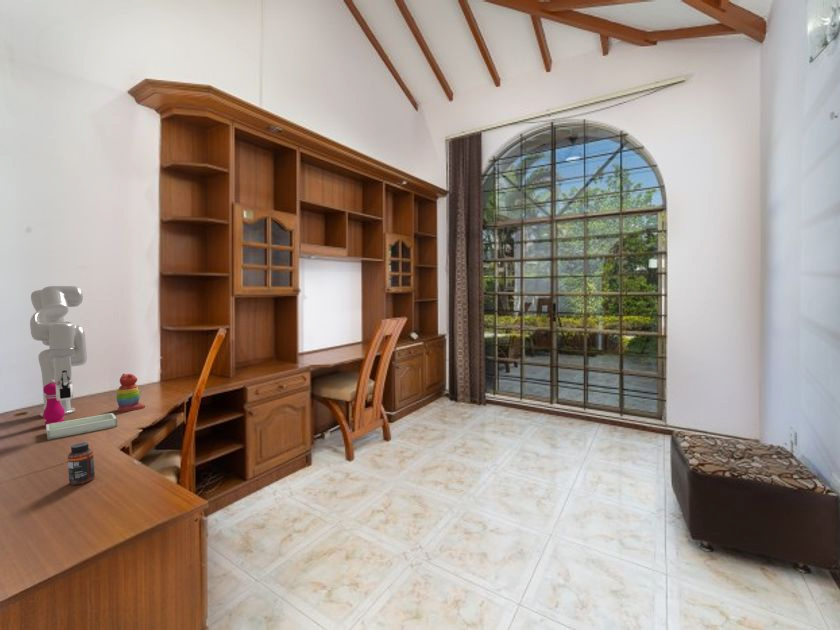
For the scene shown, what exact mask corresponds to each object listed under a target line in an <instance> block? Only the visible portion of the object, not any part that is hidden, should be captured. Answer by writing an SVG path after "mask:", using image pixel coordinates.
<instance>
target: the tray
mask: <svg viewBox="0 0 840 630" xmlns="http://www.w3.org/2000/svg"><path fill="white" fill-rule="evenodd" d="M117 427H118V418H117V417H116V415H115V414H114V412H110V413H103V414H99V415H93V416H86V417H81V418H76V419H71V420H69V419H68V420H64V421H63V422H58V423H52V424H46V426H45V428H46V429H45V430H46V438H47V440H48V441H49V440H55V439H59V438H65V437H68V436H70V437H71V436H74V435H79V434H80V435H81V434H85V433H91V432H95V431H100V430H106V429H110V428H111V429H112V428H117Z"/></svg>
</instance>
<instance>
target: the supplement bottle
mask: <svg viewBox="0 0 840 630" xmlns="http://www.w3.org/2000/svg"><path fill="white" fill-rule="evenodd" d="M89 447H90V446H89V442H88V441H87V442H83V441H82V442H78V443H75V444H73V445H70V453H68V455H67V468H68V470H67V471H68V480H69V485H71V486H78V485H83V484H86V483H89V482H92V480H94V479H95V478H96V476H95V473H96V471H95V458H94V451H93V449H92V448H89Z"/></svg>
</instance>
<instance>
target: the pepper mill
mask: <svg viewBox="0 0 840 630" xmlns="http://www.w3.org/2000/svg"><path fill="white" fill-rule="evenodd" d="M54 382H55V380H50V384H47V385H46V386H45V387H44V388H43V387H42V392H43V391H44V393H45V394H46V395H45V396H46V397H45V398H47V406H46V408H45V410H44V409H43V412H44V413H43V417H42V418H43V419H44V420H45V421H44V426H45V427H46V424H52V423H58V422H63V421H65V419H64V416H66V414H65V410H64V408H63V407H62V406H61V404H60V401H57V400H56V383H54Z"/></svg>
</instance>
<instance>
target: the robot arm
mask: <svg viewBox="0 0 840 630" xmlns="http://www.w3.org/2000/svg"><path fill="white" fill-rule="evenodd" d="M83 300H84V293H83V291H82V289H81V288H80V287H78V286H75V285H51V286H49V285H48V286H46V287H44V288H42V289H38V290H34V291H32V292H31V293H30V301H31V304H32V307H33V308H34V310H35V313H33V315H32V316H31V317H30V320H29V328H30V336H31V338H32V339H33V340H35V341H41V342H42V344H43V345H44V346H48V347H49V348H47V349H44V350H41V351H40V352H39V354H38V357H37V359H38V362H39V367H40V371H41V379H42V381H41V382H42V389H43V388H44V387H45V386H46V385H47V384H50V380H55V382H54V383H58V381H60V388H61V389H60V398H61V399H63V398H70V397H71V393H70V386H69V381H72V367H79V366H83V365H85V364H86V363H87V357H88V356H87V354H88V353H87V344H86V334H85V330H84V328H83V326H80V325H76V324H75V323H74V322H72V321H65V320H64V318H65V316H67V314H68V313H69V308H75V307H78V306H80V305H81V304H82V303H83ZM67 379H68V380H67ZM61 380H63V381H61ZM42 395H43V397H42V398H43V411H42V412H40V413H39V416H40V417H42V418H43V413H44V410H45V408H46V406H47V398H45V397H46V396H45V395H46V394H45V393H44V391H43V390H42ZM60 404H61V406H62V407H63V408H64V410H65V415H68V414H72V413H74V412H75V411H76V408H75V407H72V406H71V399H69V400H62V401H60Z"/></svg>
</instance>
